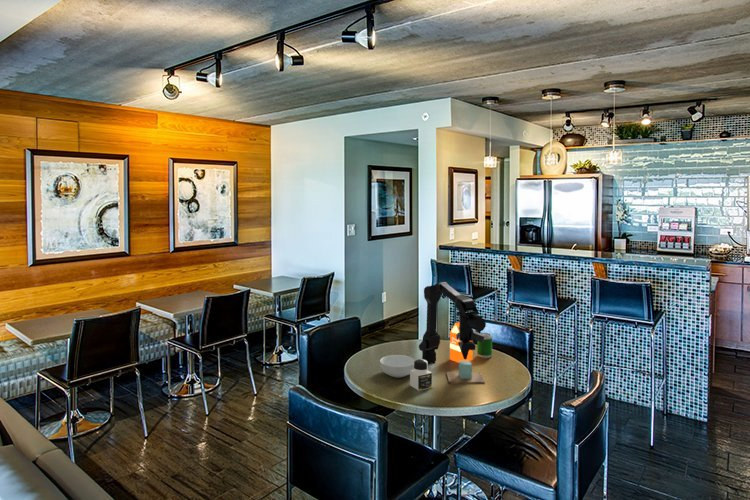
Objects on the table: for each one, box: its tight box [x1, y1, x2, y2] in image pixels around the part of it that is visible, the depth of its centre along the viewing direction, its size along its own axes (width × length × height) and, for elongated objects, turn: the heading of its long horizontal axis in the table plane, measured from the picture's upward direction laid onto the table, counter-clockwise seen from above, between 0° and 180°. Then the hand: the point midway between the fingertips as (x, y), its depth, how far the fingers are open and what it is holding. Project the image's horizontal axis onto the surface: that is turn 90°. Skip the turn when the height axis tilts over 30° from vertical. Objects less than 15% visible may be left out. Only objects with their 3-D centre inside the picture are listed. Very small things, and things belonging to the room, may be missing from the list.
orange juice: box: [449, 322, 474, 364], centre depth 256 cm, size 8×9×20 cm
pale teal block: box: [458, 361, 473, 379], centre depth 230 cm, size 5×5×7 cm
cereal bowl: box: [379, 354, 416, 379], centre depth 236 cm, size 17×17×7 cm
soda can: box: [476, 332, 493, 359], centre depth 261 cm, size 8×8×12 cm
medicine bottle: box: [409, 358, 433, 392], centre depth 220 cm, size 7×7×12 cm
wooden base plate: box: [445, 371, 486, 385], centre depth 230 cm, size 16×12×7 cm
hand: (465, 359), depth 229 cm, fingers closed
